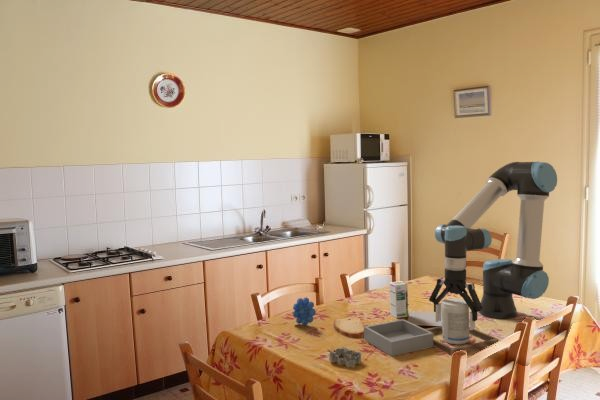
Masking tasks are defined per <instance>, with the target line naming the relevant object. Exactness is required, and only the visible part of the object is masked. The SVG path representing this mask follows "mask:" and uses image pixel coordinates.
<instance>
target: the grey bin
mask: <svg viewBox="0 0 600 400" xmlns="http://www.w3.org/2000/svg"><path fill="white" fill-rule="evenodd" d="M433 339H434V334H433V333H432V332H430V331H428V330H425V328H423V327H421V326H419V325H417V324H414V323H412V322H410V321H408V320H406V319H402V318H401V319H398V320H392V321H387V322H382V323H377V324H371V325H370V324H369V325H366V326H365V325H364V338H363V340H364V341H365V342H367V343H369V344H370V345H372V346H374V347H375V348H377V349H379V350H380V351H382V352H384V353H385V354H386V355H389V356H390V357H395V356H398V355H404V354H408V353H413V352H415V351H422V350H426V349H430V348H434V346H433Z"/></svg>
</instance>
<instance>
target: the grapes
mask: <svg viewBox="0 0 600 400" xmlns="http://www.w3.org/2000/svg"><path fill="white" fill-rule="evenodd" d="M314 307H315V303H314V302H313V301H311V300H310V299H309V298H308V297H304V298H302V297H300V298H297V300H296V303H294V304H293V306H292V309H293V310H294V311H293V312H292V317H293V318H296V319H295V320H296V323H297V324H299V325H300V324H302V325H303V326H307V325H308V324H311V323H313V321H314V316H315V315H316V309H314Z"/></svg>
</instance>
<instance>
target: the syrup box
mask: <svg viewBox="0 0 600 400" xmlns="http://www.w3.org/2000/svg"><path fill="white" fill-rule="evenodd" d="M408 290H409V289H408V283H407V282H405V281H402V280H399V281H390V282H389V302H390V303H389V304H390V307H389V311H390V312H389V313H390V316H392V317H393V318H395V319H399V318H407V317H409V304H408V303H409V301H408V300H409V299H408V298H409V296H408Z"/></svg>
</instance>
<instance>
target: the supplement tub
mask: <svg viewBox="0 0 600 400" xmlns="http://www.w3.org/2000/svg"><path fill="white" fill-rule="evenodd" d="M441 324H442V325H441V326H442V332H441V333H442V334H441V335H442V340H443V341H444V342H445V343H448V344H452V345H464V344H467V343H469V341H470V334H469V327H470V308H469V306H468V305H467V303H466V302H465V301H464V299H463V298H462V299H461V298H446V299H442V300H441Z"/></svg>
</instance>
